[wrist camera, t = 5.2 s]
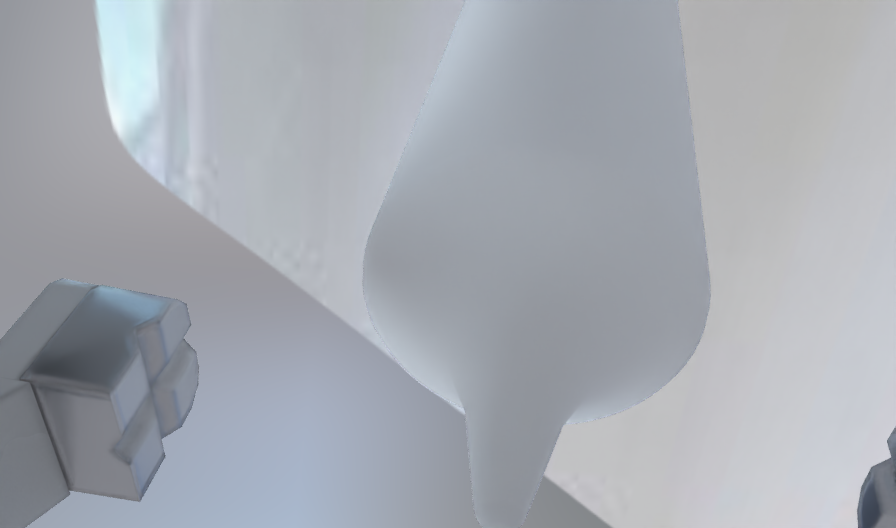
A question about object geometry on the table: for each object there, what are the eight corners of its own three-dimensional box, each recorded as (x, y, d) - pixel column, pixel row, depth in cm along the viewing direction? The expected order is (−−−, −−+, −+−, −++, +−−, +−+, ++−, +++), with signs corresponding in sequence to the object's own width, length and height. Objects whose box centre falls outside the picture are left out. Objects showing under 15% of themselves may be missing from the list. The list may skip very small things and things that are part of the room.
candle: (557, 21, 31) (433, 737, 11) (441, -152, 28) (12, 416, 9) (742, -94, 27) (1008, 643, 8) (632, -305, 25) (639, 62, 5)
